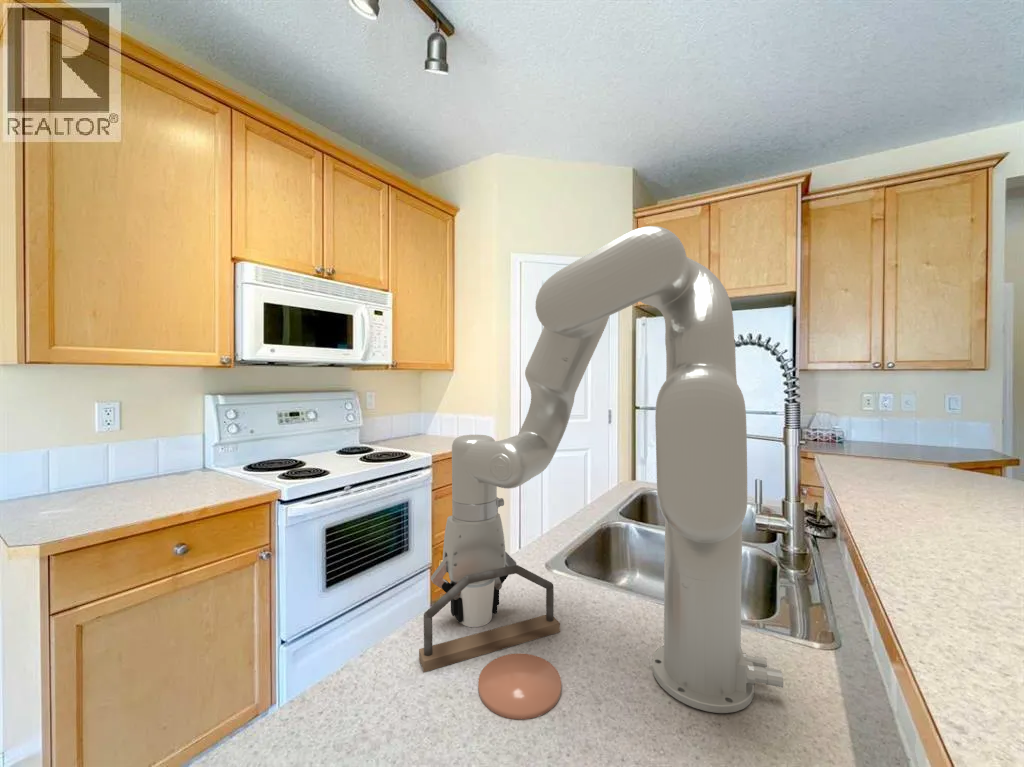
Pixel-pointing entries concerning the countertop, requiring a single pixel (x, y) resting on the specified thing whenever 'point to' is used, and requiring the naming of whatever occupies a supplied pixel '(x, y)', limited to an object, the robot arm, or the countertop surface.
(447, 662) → the arched handle
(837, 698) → the countertop surface
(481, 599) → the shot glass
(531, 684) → the coaster
